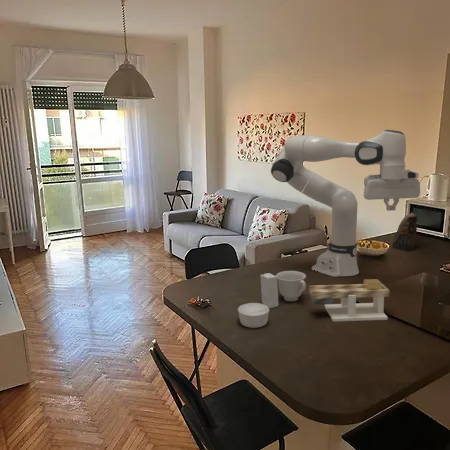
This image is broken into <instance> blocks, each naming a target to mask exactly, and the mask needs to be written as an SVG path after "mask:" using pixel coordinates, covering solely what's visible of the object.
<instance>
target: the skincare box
mask: <svg viewBox="0 0 450 450" xmlns="http://www.w3.org/2000/svg"><path fill="white" fill-rule="evenodd" d="M259 275H260V287H261V288H260V289H261V290H260V291H261V304H264V305H266V306H268V308H269V309H272V308H278V307H279V286H278V279H277V277H276V275H274V274H272V273H270V272H268V273H262V274H259Z"/></svg>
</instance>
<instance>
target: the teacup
mask: <svg viewBox="0 0 450 450" xmlns="http://www.w3.org/2000/svg"><path fill="white" fill-rule="evenodd" d="M275 276H276V277H277V284H278V291H279V293H280V294H281V296H282V297H283V299H284V301H285V302H286V301H287V302H296V301H298V300H299V297H301V295H302V294H303V292H304V291H305V290H306V288H307V284H306V282H305V279H306V278H307V274H306V273H304V272H301V271H298V270H283V271H279V272H278V273H276V274H275Z"/></svg>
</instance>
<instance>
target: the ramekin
mask: <svg viewBox="0 0 450 450" xmlns="http://www.w3.org/2000/svg"><path fill="white" fill-rule="evenodd" d="M269 313H270V308H269V307H268V306H266V305H264V304H263V303H259V302H248V303H244V304H240V305H239V307H237V314H238V317H239V322H240V324H241V325H242V326H244V327H245V328H249V329H250V328H251V329H255V328H258V329H259V328H261V327H263V326H266V324H267V323H268V320H269Z"/></svg>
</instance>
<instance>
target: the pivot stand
mask: <svg viewBox="0 0 450 450" xmlns="http://www.w3.org/2000/svg"><path fill="white" fill-rule="evenodd" d="M384 304H385V297H372V302H365V303H364V302H359V303H357V298H356V295H348V298H340V303H333V304H324V308H325V311H326V312H327V314H328V315H329V317H330V319H331V321H332V322H356V321H357V322H359V321H386V320H387V321H388V318H389V317H388V315H387V314H386V313H385V312H384V309H385V308H384V307H385V305H384Z"/></svg>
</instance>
